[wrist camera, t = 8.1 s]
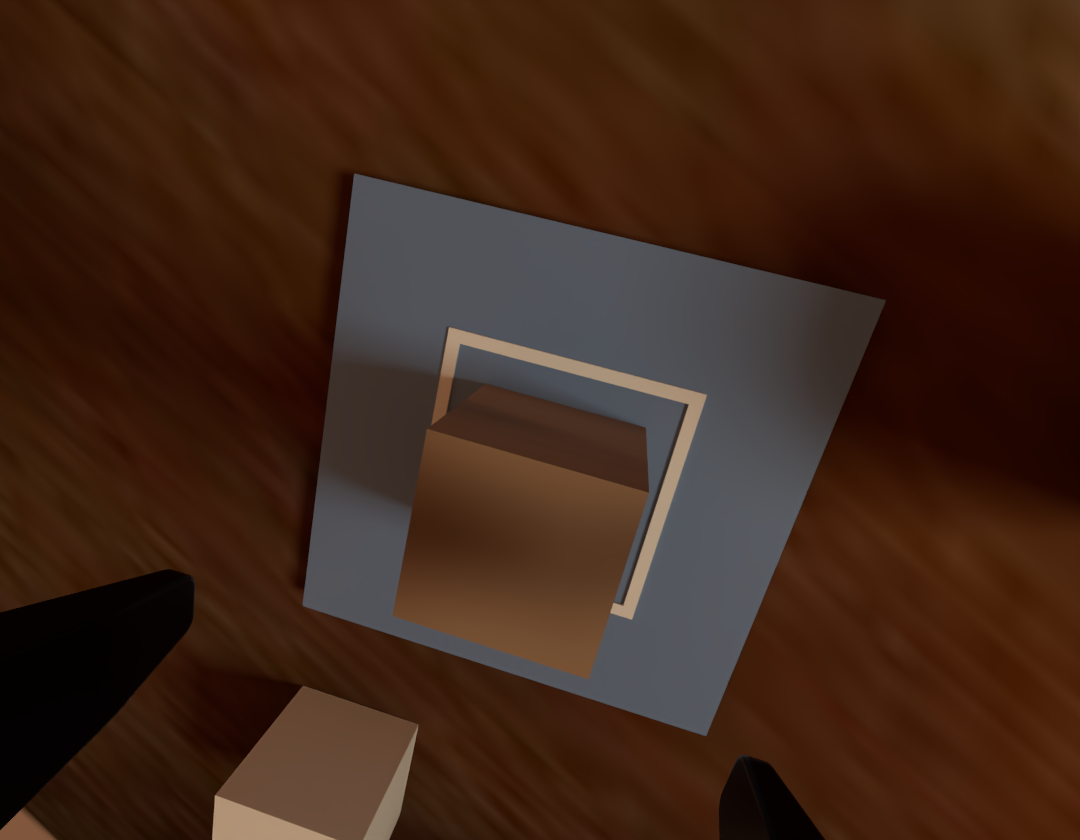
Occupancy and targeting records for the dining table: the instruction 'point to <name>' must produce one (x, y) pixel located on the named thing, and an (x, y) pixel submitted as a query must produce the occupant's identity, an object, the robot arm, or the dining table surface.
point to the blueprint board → (591, 385)
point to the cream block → (319, 775)
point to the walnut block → (523, 526)
